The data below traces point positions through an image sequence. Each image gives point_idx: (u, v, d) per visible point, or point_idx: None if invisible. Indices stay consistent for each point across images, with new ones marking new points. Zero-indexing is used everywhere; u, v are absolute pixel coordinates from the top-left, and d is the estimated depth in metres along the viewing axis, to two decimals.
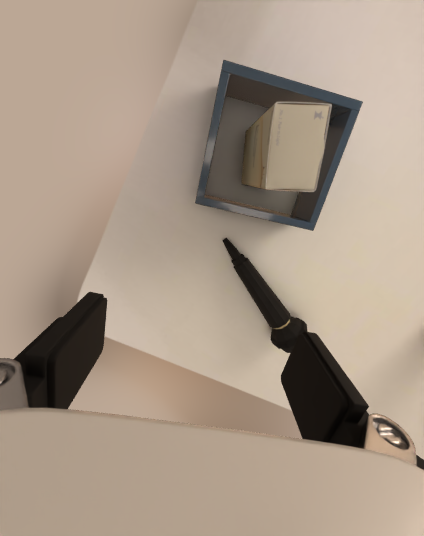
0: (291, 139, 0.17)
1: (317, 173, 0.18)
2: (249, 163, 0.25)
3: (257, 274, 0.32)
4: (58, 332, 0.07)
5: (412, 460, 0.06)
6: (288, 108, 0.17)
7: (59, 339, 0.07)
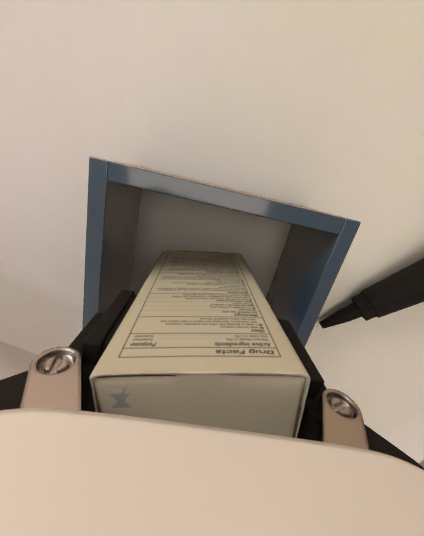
0: None
1: (261, 376, 0.06)
2: None
3: (405, 282, 0.17)
4: (105, 324, 0.08)
5: (361, 427, 0.07)
6: None
7: (107, 331, 0.08)
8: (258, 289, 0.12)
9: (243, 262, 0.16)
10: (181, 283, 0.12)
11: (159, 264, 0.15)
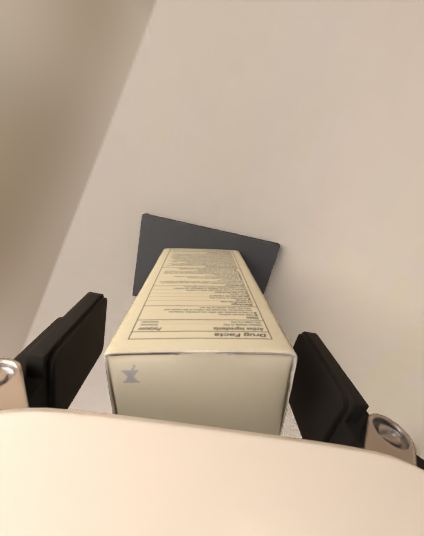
0: (182, 415, 0.08)
1: (254, 355, 0.07)
2: None
3: None
4: (58, 332, 0.07)
5: (412, 460, 0.06)
6: None
7: (59, 339, 0.07)
8: (254, 282, 0.12)
9: (241, 258, 0.17)
10: (182, 276, 0.13)
11: (161, 260, 0.15)
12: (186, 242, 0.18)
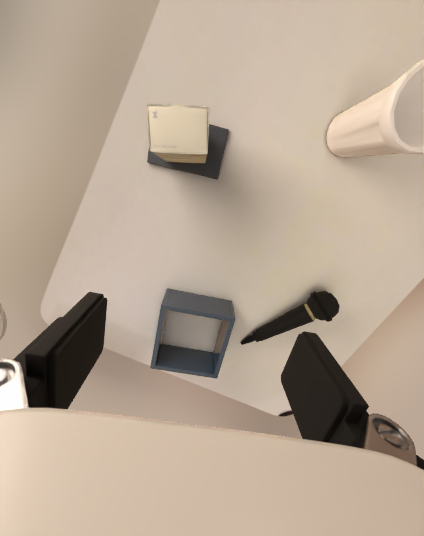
0: (172, 135, 0.23)
1: (194, 107, 0.23)
2: (189, 160, 0.31)
3: (267, 328, 0.45)
4: (58, 332, 0.07)
5: (412, 460, 0.06)
6: (153, 140, 0.24)
7: (59, 339, 0.07)
8: None
9: None
10: None
11: None
12: None
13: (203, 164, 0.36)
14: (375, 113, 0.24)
